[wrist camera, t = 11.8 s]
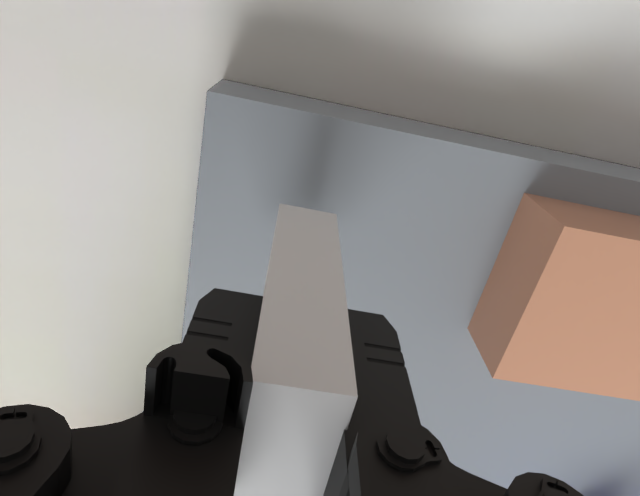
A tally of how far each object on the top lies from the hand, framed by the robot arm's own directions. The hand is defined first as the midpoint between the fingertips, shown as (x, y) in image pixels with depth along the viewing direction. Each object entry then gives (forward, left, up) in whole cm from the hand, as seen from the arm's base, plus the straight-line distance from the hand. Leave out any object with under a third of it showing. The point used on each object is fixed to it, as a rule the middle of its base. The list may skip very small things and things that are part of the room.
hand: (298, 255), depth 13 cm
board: (+8, -4, -4) cm, 10 cm away
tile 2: (+9, 0, -2) cm, 9 cm away
